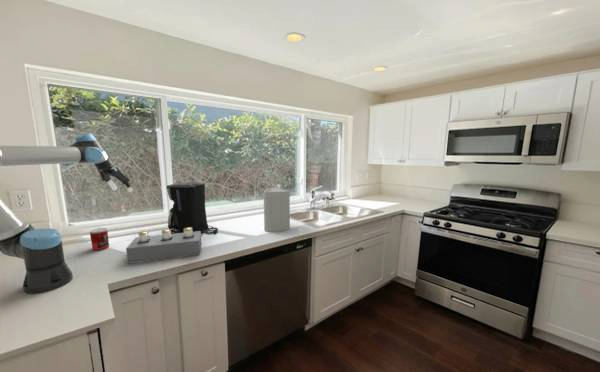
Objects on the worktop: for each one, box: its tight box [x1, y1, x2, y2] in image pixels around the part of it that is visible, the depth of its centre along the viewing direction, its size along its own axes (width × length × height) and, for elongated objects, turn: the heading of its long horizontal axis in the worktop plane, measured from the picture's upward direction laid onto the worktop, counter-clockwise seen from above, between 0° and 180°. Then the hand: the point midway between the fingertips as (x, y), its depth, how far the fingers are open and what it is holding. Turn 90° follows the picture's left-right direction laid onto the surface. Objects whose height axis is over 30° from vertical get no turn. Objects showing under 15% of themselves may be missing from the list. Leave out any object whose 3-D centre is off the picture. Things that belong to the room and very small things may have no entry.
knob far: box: [184, 227, 193, 239], centre depth 141 cm, size 4×4×8 cm
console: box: [125, 231, 202, 264], centre depth 138 cm, size 16×34×8 cm, turn 108°
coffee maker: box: [166, 181, 218, 235], centre depth 172 cm, size 23×32×34 cm
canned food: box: [89, 227, 110, 252], centre depth 144 cm, size 8×8×11 cm
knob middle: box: [161, 228, 172, 241], centre depth 137 cm, size 4×4×8 cm
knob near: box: [137, 230, 149, 243], centre depth 134 cm, size 4×4×8 cm
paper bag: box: [263, 187, 291, 233], centre depth 176 cm, size 19×15×28 cm
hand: (123, 190), depth 149 cm, fingers open, 13 cm apart
